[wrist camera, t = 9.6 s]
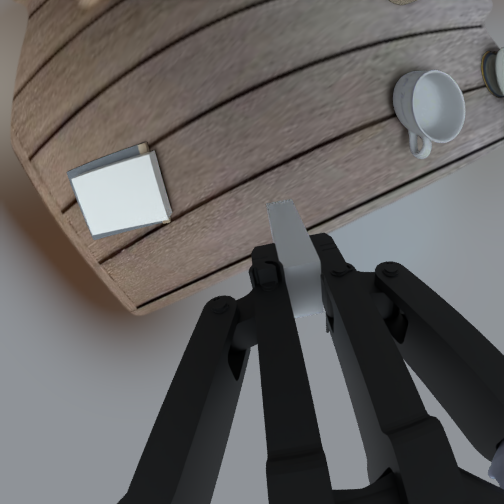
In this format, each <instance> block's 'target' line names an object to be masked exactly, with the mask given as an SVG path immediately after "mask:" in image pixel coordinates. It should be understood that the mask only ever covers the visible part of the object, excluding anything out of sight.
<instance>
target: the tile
mask: <svg viewBox="0 0 504 504" xmlns="http://www.w3.org/2000/svg"><path fill="white" fill-rule="evenodd" d="M71 180H72V183H73V186H74V189H75V192H76V194H77V197H78V200H79V203H80V205H81V208H82V210H83V213H84V216H85V218H86V221H87V223H88V226H89V228H90V231H91V233H92V235H97V234H101V233H106V232H110V231H115V230H120V229H124V228H129V227H134V226H139V225H144V224H149V223H154V222H159V221H164V220H168V219H169V217H170V216H171V214H172V210H171V207H170V203H169V200H168V197H167V193H166V190H165V186H164V183H163V179H162V176H161V172H160V168H159V165H158V161H157V157H156V154H155V151H151V152H147V153H144V154H140V155H137V156H133V157H130V158H127V159H123V160H120V161H117V162H114V163H111V164H107V165H104V166H101V167H98V168H95V169H93V170H90V171H87V172H84V173H81V174H79V175H77V176H76V177H74V178H72V179H71Z"/></svg>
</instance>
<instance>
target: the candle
mask: <svg viewBox="0 0 504 504" xmlns="http://www.w3.org/2000/svg"><path fill="white" fill-rule="evenodd" d="M389 1H391V2H393V3H395V4H398V5H404V4H408V3H410V2H413V1H416V0H389Z"/></svg>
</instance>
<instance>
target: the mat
mask: <svg viewBox="0 0 504 504" xmlns="http://www.w3.org/2000/svg"><path fill="white" fill-rule="evenodd" d="M138 145H139V144H138ZM138 145H135V146H133V147H130V148H127V149H124V150H121V151H118V152H115V153H113V154H110V155H107V156H105V157H102V158H100V159H97V160H94V161H92V162H89V163H87V164H85V165H82V166H80V167H77V168H75V169H73V170H70V171H68V172H67V175H68V178H69V180H70V183H71V186H72V189H73V191H74V194H75V197H76V199H77V202H78V204H79V207H80V209H81V212H82V214H83V216H84V213H83V210H82V208H81V205H80V203H79V200H78V197H77V194H76V192H75V189H74V186H73V183H72V180H71V179H72V178H74V177H76V176H77V175H79V174H81V173H84V172H87V171H90V170H93V169H95V168H98V167H101V166H104V165H107V164H111V163H114V162H117V161H120V160H123V159H127V158H130V157H133V156H137V155H140V152H139V149H138ZM84 219H85V221H86V218H85V216H84ZM158 223H162V221H159V222H154V223H149V224H144V225H139V226H134V227H129V228H124V229H120V230H115V231H110V232H106V233H101V234H97V235H92V233H91V231H90V233H91V235H92V237H93V239H94V240H96V239H100V238H103V237H107V236H111V235H115V234H118V233H122V232H126V231H130V230H134V229H138V228H142V227H146V226H150V225H154V224H158ZM86 224H87V226H88V223H87V221H86ZM88 228H89V226H88ZM89 230H90V228H89Z"/></svg>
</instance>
